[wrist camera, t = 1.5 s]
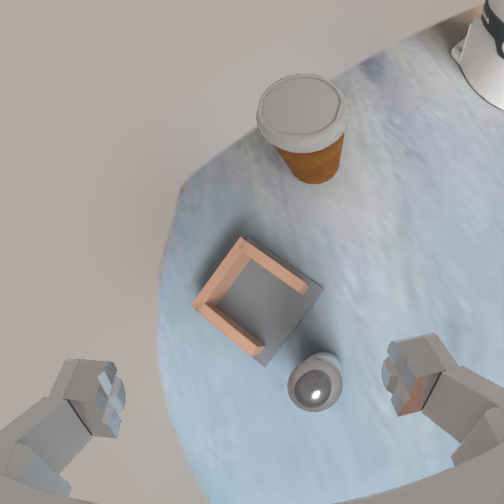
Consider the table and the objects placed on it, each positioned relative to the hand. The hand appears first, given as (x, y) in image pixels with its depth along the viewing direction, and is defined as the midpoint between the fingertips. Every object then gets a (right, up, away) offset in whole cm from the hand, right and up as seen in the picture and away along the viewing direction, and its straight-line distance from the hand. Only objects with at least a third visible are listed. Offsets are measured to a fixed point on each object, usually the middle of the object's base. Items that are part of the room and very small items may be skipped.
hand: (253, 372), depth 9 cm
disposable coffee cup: (+8, +15, +31) cm, 36 cm away
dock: (+1, -2, +29) cm, 29 cm away
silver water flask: (+8, -10, +25) cm, 28 cm away
